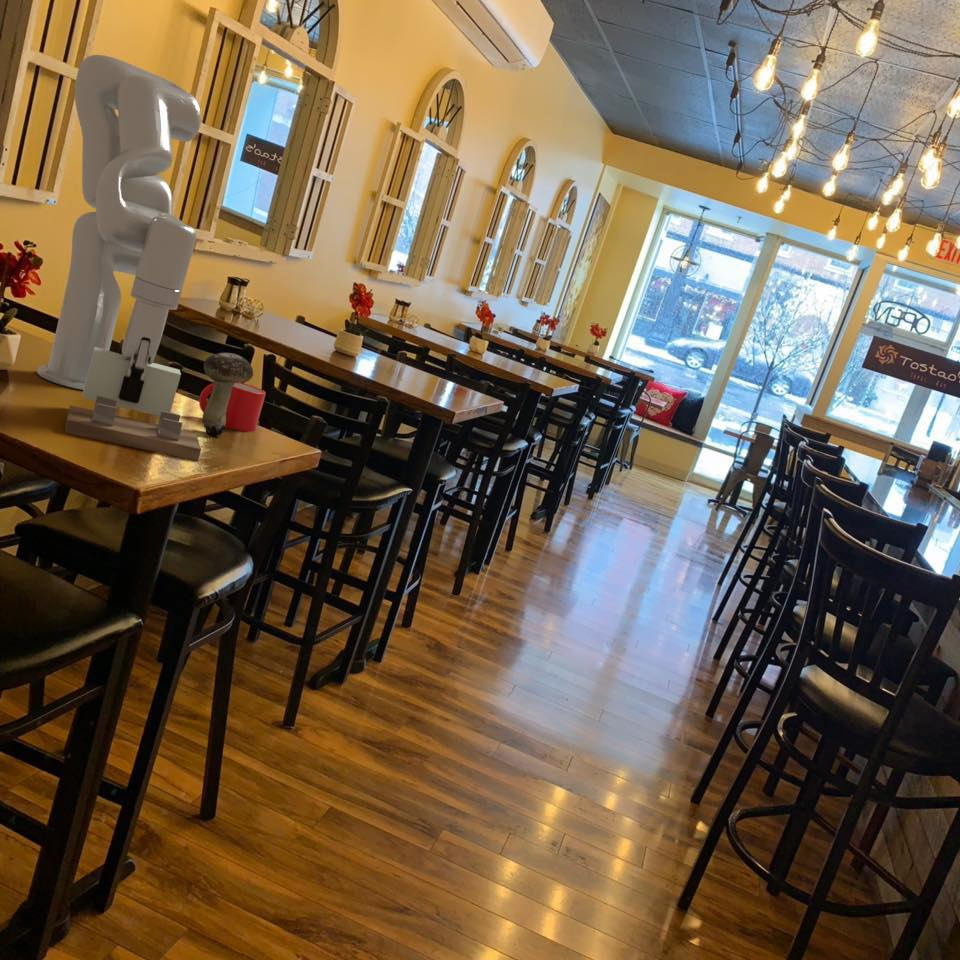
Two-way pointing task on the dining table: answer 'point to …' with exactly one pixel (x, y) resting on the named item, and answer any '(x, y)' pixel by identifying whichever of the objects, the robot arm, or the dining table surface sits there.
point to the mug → (239, 406)
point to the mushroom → (223, 387)
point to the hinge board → (133, 430)
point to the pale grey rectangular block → (109, 378)
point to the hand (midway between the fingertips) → (128, 396)
